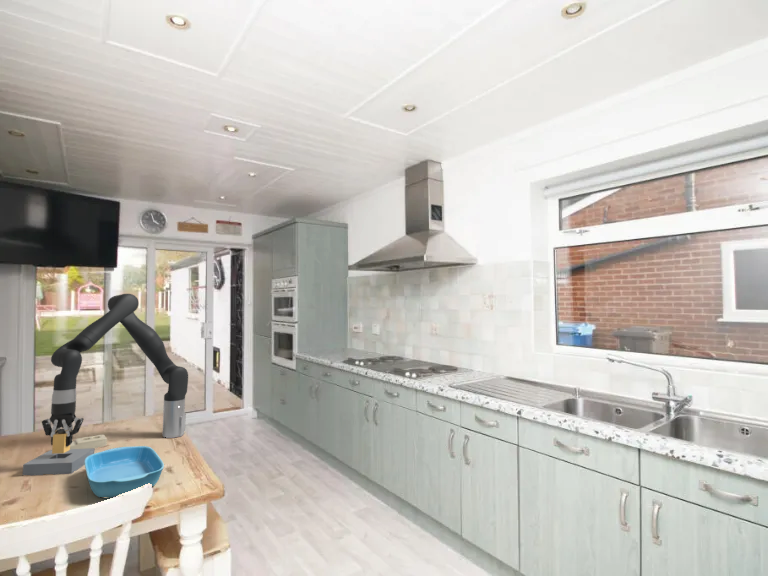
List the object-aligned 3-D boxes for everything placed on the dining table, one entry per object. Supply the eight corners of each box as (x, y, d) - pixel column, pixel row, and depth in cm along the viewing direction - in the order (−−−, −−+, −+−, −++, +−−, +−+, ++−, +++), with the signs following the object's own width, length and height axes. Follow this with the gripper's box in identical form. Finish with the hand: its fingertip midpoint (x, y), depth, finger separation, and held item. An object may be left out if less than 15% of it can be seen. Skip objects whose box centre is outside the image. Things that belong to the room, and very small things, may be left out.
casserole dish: (169, 490, 141) (170, 469, 141) (89, 510, 127) (90, 486, 127) (148, 459, 169) (149, 441, 170) (80, 472, 155) (81, 453, 156)
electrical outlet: (54, 441, 178) (104, 434, 190) (53, 451, 177) (103, 443, 189) (55, 446, 172) (106, 437, 184) (54, 456, 172) (106, 447, 184)
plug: (69, 449, 162) (71, 427, 163) (63, 453, 158) (65, 430, 159) (58, 450, 162) (59, 427, 162) (52, 453, 158) (53, 430, 158)
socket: (94, 458, 169) (94, 448, 169) (71, 473, 153) (72, 462, 153) (50, 460, 166) (50, 449, 167) (22, 475, 151) (23, 464, 151)
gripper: (89, 398, 166) (86, 442, 165) (49, 399, 164) (46, 443, 163) (78, 402, 159) (76, 448, 158) (37, 403, 156) (34, 449, 155)
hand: (61, 445), depth 160 cm, fingers closed on plug, 4 cm apart
